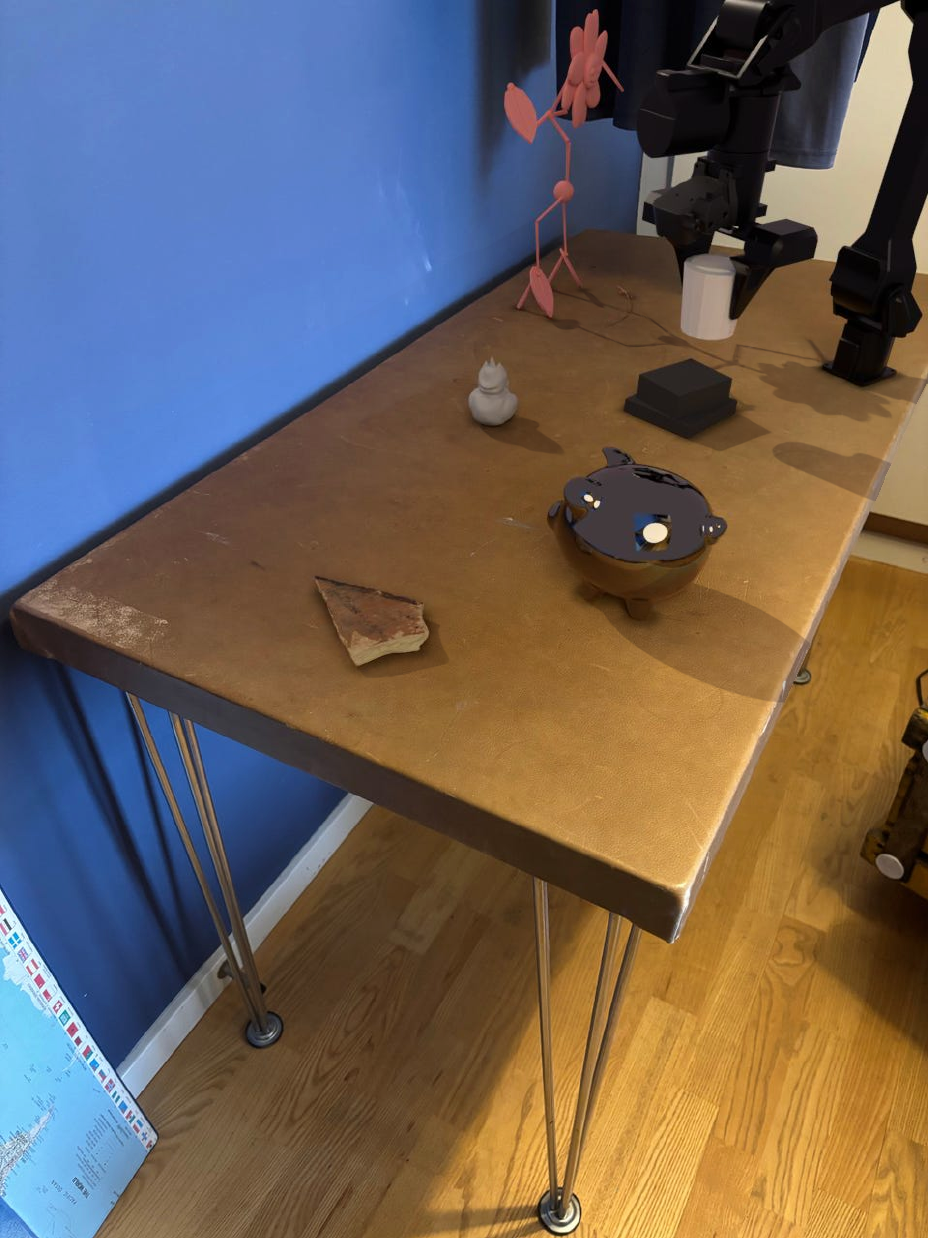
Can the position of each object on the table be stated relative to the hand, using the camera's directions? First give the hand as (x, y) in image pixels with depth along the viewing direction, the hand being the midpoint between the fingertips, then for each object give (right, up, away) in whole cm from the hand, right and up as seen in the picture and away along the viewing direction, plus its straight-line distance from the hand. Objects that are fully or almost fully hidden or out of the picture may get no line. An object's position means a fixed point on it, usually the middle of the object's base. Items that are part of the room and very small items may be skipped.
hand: (710, 308), depth 96 cm
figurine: (-10, +11, +33) cm, 37 cm away
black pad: (-1, -8, +7) cm, 11 cm away
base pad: (-1, -9, +8) cm, 12 cm away
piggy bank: (-12, -30, -17) cm, 37 cm away
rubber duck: (-23, -10, +7) cm, 26 cm away
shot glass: (0, -2, +2) cm, 2 cm away
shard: (-35, -34, -22) cm, 53 cm away
